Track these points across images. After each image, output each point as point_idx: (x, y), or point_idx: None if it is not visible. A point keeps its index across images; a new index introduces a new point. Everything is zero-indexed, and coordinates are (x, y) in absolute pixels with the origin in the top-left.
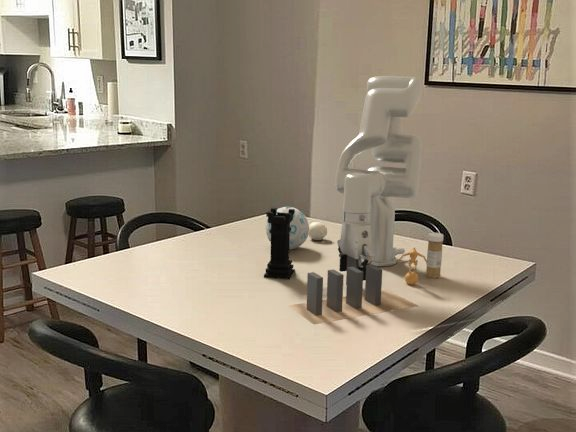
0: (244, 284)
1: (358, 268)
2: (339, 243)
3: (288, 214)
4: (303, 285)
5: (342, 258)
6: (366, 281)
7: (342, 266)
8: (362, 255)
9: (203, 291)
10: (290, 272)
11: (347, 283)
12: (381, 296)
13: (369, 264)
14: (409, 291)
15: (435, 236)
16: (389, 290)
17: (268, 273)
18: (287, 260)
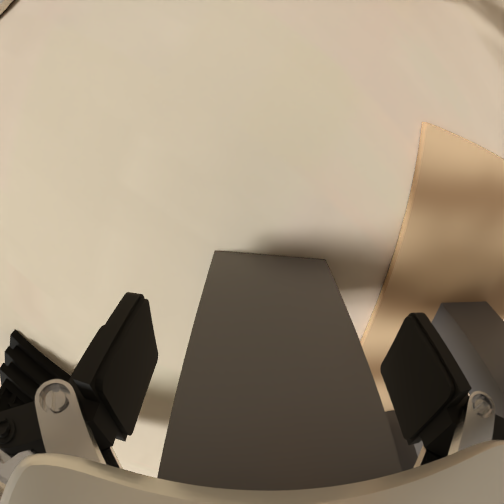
0: (116, 443)
1: (412, 436)
2: (5, 486)
3: None
4: (145, 394)
5: (120, 432)
6: (472, 388)
7: (146, 378)
8: (371, 486)
9: (146, 471)
10: (38, 363)
11: (419, 445)
12: (461, 239)
13: (497, 419)
14: (464, 42)
15: None
16: (439, 127)
17: None
18: (25, 402)
